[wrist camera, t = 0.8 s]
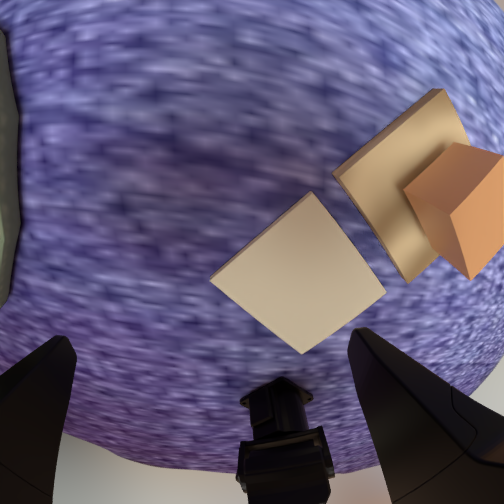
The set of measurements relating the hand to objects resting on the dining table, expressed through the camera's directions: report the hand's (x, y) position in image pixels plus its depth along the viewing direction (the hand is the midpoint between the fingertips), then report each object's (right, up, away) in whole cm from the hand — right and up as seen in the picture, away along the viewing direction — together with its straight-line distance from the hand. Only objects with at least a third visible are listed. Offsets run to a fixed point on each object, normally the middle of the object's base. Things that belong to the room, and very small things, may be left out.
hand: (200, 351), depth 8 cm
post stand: (+16, +8, +12) cm, 21 cm away
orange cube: (+16, +7, +9) cm, 19 cm away
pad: (+6, 0, +15) cm, 16 cm away
